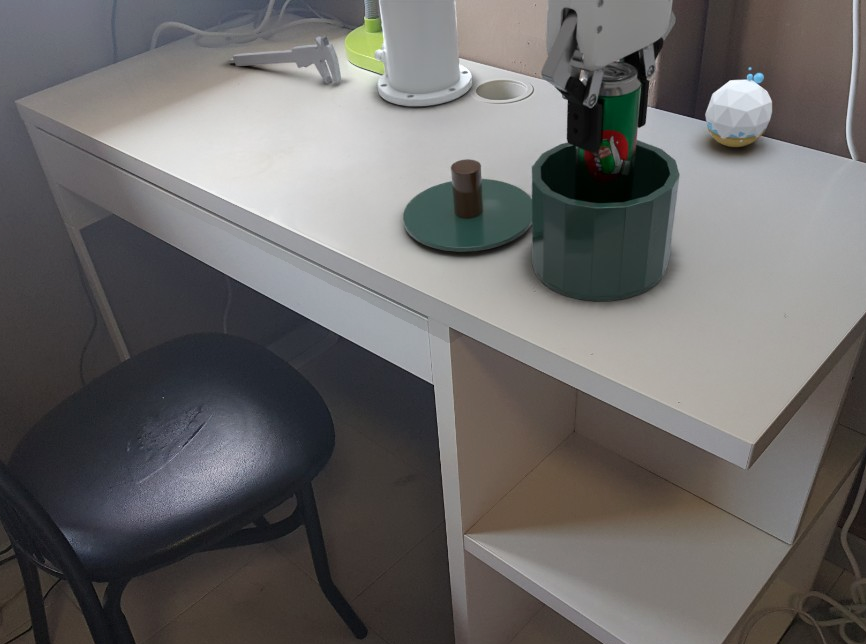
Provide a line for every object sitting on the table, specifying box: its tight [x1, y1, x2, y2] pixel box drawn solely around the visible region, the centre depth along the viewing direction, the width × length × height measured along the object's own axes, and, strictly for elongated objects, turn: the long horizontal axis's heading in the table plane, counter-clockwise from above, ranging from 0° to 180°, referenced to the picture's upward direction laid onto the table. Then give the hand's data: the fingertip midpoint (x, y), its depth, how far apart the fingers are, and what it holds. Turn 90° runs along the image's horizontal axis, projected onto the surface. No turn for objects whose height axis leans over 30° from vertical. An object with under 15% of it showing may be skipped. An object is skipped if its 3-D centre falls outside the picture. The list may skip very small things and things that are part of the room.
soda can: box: [574, 60, 641, 203], centre depth 72 cm, size 5×5×12 cm
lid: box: [402, 158, 532, 253], centre depth 85 cm, size 14×14×6 cm
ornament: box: [704, 66, 773, 148], centre depth 92 cm, size 7×7×8 cm
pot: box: [531, 139, 680, 302], centre depth 77 cm, size 13×13×10 cm
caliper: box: [228, 35, 342, 85], centre depth 118 cm, size 20×1×6 cm, turn 58°
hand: (606, 132), depth 71 cm, fingers closed on soda can, 5 cm apart
